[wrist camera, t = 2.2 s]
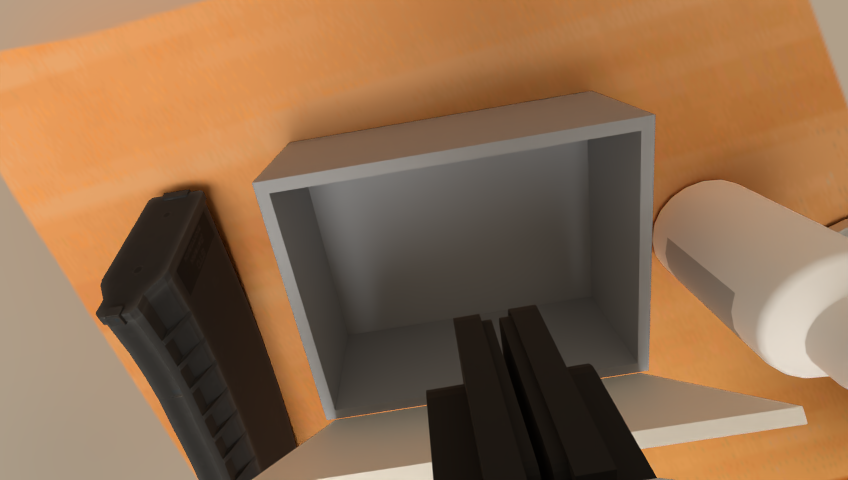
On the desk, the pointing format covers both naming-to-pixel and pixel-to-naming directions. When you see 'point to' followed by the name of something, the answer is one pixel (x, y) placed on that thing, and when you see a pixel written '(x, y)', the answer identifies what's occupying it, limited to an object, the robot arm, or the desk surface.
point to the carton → (464, 242)
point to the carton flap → (632, 394)
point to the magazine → (196, 339)
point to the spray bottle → (762, 274)
